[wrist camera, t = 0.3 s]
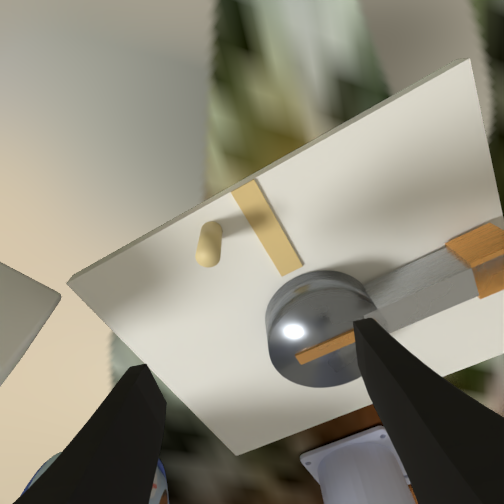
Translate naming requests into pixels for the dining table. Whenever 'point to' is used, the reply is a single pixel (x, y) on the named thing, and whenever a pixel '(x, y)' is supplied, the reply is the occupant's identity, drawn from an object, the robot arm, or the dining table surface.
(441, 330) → the board
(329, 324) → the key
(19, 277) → the medicine bottle
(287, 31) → the dining table surface
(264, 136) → the dining table surface
